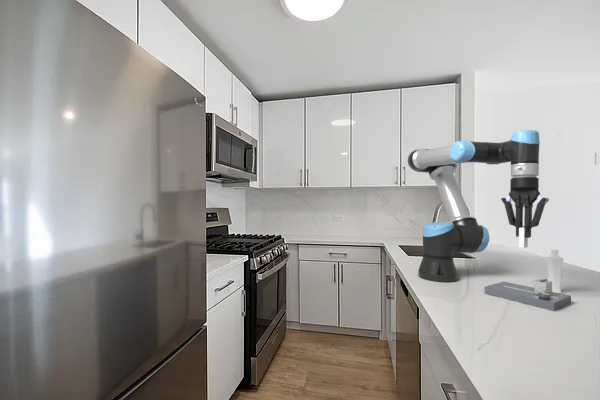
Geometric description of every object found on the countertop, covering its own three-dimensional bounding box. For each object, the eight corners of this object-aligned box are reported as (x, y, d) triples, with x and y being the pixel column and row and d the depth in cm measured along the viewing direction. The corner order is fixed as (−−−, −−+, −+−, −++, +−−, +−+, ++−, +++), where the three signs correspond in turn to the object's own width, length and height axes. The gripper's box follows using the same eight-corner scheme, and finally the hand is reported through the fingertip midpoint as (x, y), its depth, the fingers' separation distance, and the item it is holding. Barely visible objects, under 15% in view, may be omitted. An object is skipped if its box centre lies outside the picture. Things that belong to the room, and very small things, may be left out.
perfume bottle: (567, 293, 102) (567, 251, 102) (554, 293, 102) (554, 250, 102) (556, 289, 106) (556, 249, 107) (544, 289, 106) (544, 248, 107)
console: (484, 293, 100) (484, 281, 100) (503, 287, 108) (503, 277, 108) (553, 311, 84) (553, 297, 84) (571, 303, 91) (571, 290, 91)
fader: (534, 293, 92) (534, 279, 92) (540, 291, 94) (540, 278, 94) (546, 296, 89) (546, 282, 89) (552, 293, 92) (552, 280, 92)
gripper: (497, 177, 100) (496, 245, 100) (543, 175, 89) (542, 251, 89) (507, 178, 104) (506, 243, 104) (553, 176, 93) (552, 249, 93)
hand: (523, 247), depth 97 cm, fingers closed
